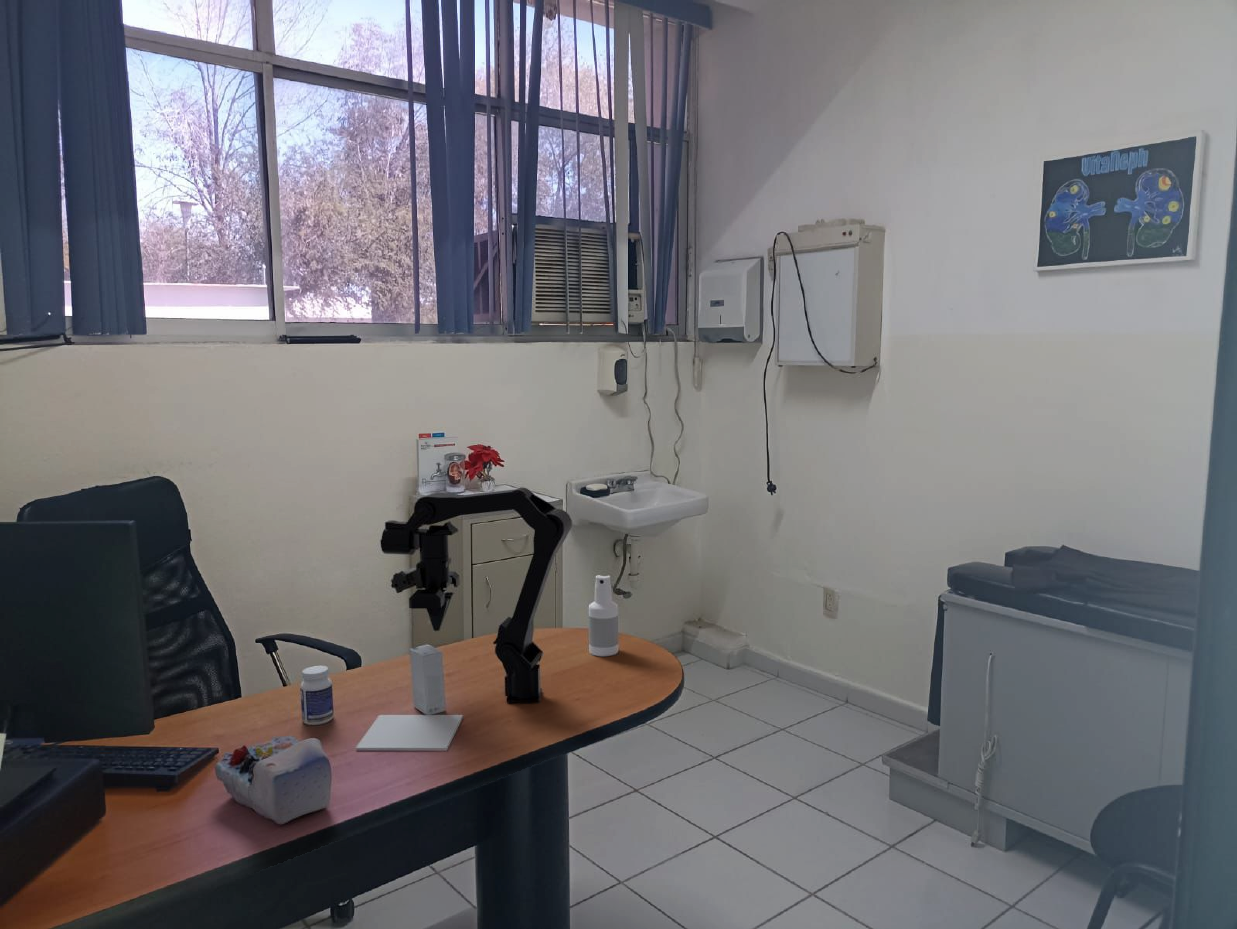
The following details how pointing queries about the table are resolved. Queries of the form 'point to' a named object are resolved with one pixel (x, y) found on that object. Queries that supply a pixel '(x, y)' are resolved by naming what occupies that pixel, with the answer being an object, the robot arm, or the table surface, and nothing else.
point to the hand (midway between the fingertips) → (436, 630)
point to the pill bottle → (316, 696)
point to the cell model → (278, 777)
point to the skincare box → (427, 679)
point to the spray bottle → (603, 620)
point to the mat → (411, 733)
